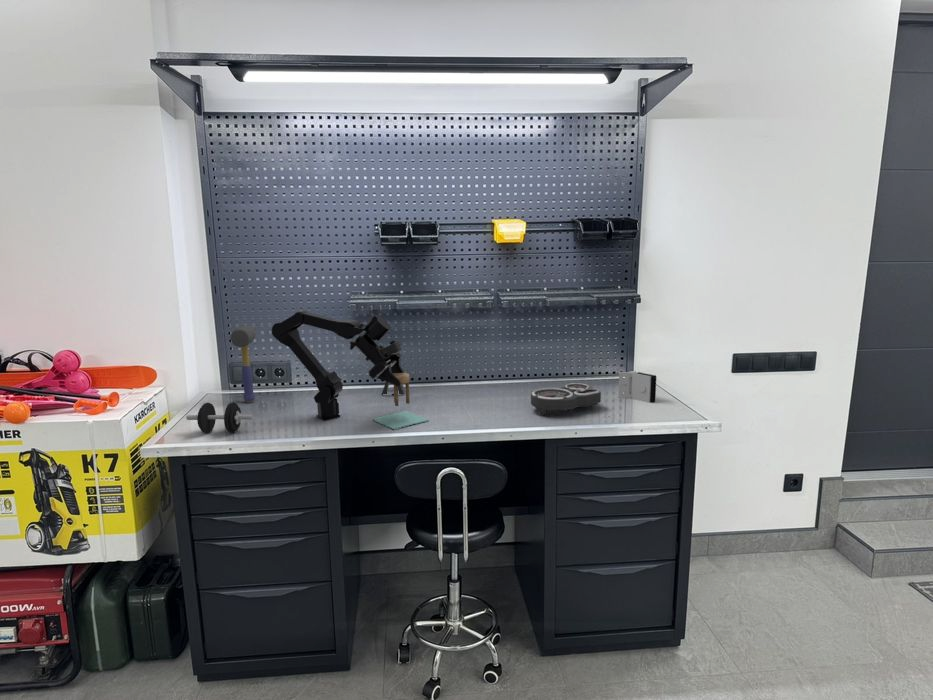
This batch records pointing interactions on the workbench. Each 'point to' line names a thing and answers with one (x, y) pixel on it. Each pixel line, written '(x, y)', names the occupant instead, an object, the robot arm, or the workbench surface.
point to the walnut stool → (402, 379)
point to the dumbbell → (219, 417)
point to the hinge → (637, 386)
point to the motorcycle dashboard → (565, 398)
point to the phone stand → (400, 388)
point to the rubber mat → (400, 419)
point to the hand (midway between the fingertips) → (403, 382)
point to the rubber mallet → (245, 357)
